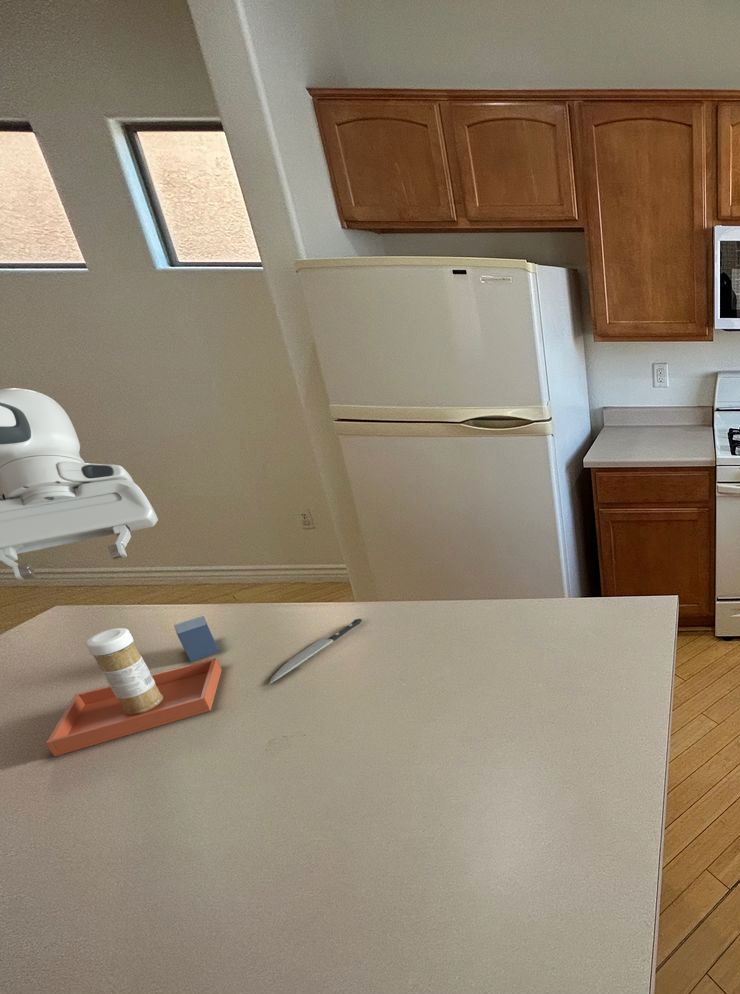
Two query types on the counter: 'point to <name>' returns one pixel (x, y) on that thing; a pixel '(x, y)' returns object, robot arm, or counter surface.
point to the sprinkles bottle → (125, 670)
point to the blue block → (196, 638)
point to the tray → (105, 719)
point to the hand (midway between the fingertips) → (74, 567)
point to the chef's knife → (311, 651)
